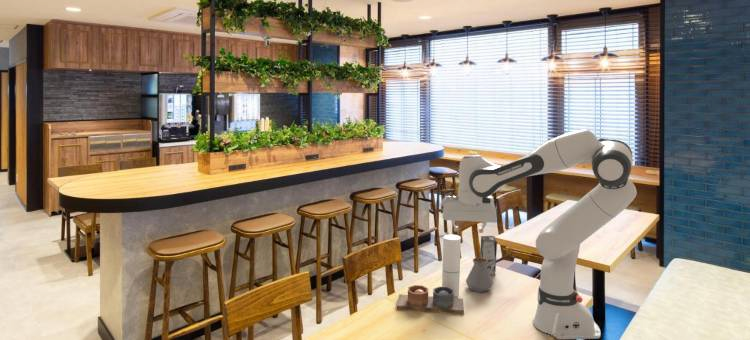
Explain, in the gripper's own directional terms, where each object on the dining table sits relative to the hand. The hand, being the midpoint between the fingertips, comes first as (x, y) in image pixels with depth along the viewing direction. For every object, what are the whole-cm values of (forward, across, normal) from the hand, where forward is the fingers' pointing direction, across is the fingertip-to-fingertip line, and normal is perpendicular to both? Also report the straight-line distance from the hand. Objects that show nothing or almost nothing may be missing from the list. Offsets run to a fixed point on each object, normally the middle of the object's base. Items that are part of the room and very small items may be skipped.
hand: (468, 231), depth 173 cm
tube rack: (+31, -14, -1) cm, 34 cm away
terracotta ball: (+27, -18, -1) cm, 33 cm away
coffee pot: (+31, +11, +20) cm, 39 cm away
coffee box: (+31, +12, +39) cm, 51 cm away
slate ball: (+27, -9, -1) cm, 29 cm away
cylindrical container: (+31, -6, +11) cm, 34 cm away
